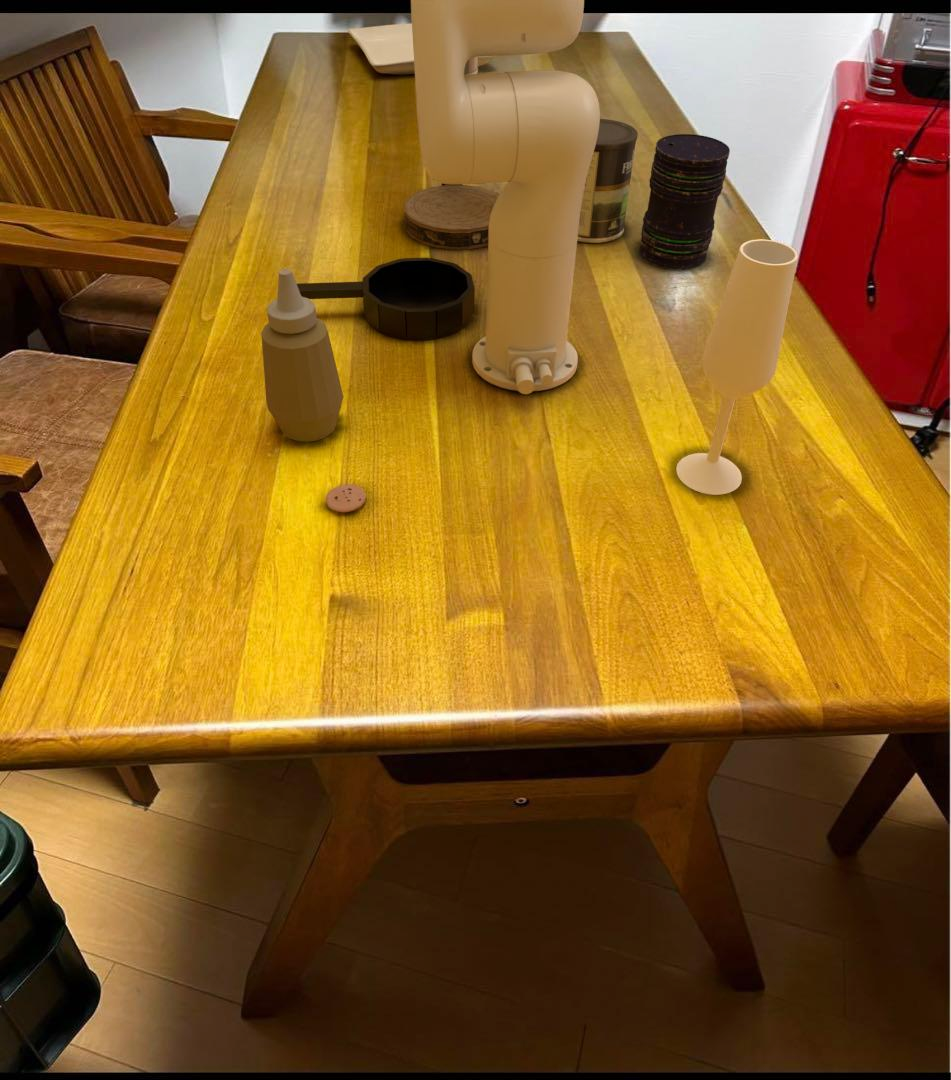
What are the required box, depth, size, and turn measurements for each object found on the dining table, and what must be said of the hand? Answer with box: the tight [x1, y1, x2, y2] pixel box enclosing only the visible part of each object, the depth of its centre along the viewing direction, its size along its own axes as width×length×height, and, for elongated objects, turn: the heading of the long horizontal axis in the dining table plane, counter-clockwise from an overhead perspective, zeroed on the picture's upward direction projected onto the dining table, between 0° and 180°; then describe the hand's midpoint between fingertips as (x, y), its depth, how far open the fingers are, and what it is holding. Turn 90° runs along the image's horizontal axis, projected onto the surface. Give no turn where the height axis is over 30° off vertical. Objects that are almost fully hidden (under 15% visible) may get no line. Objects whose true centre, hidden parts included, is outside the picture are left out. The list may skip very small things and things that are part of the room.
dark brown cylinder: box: [638, 133, 731, 271], centre depth 117 cm, size 10×10×15 cm
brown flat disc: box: [403, 184, 500, 250], centre depth 127 cm, size 16×16×3 cm
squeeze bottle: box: [260, 268, 344, 443], centre depth 85 cm, size 8×8×18 cm
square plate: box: [347, 22, 496, 76], centre depth 187 cm, size 27×27×4 cm
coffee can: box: [577, 118, 639, 244], centre depth 123 cm, size 10×10×14 cm
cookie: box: [325, 483, 367, 513], centre depth 83 cm, size 4×4×1 cm
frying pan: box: [296, 257, 475, 341], centre depth 108 cm, size 14×24×4 cm, turn 96°
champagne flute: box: [675, 238, 799, 496], centre depth 79 cm, size 7×7×24 cm
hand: (451, 187), depth 133 cm, fingers closed
